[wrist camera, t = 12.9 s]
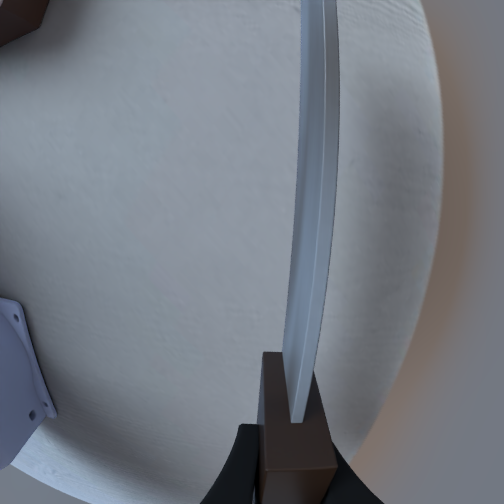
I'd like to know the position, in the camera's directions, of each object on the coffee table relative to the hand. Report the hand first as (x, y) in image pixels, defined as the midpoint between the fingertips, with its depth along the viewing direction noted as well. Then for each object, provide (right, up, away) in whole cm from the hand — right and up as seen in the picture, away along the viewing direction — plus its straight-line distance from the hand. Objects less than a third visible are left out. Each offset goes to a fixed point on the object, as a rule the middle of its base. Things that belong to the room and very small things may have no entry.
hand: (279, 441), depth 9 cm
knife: (0, +7, 0) cm, 7 cm away
